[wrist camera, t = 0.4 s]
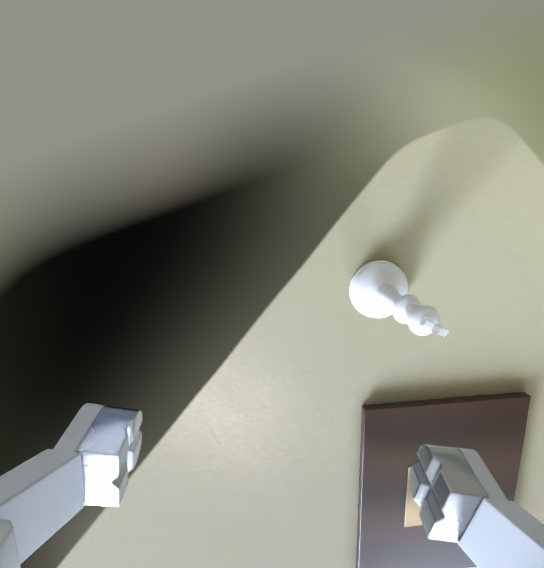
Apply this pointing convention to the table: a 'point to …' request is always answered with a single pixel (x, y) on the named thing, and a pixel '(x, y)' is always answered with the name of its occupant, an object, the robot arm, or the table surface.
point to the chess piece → (391, 298)
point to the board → (403, 453)
